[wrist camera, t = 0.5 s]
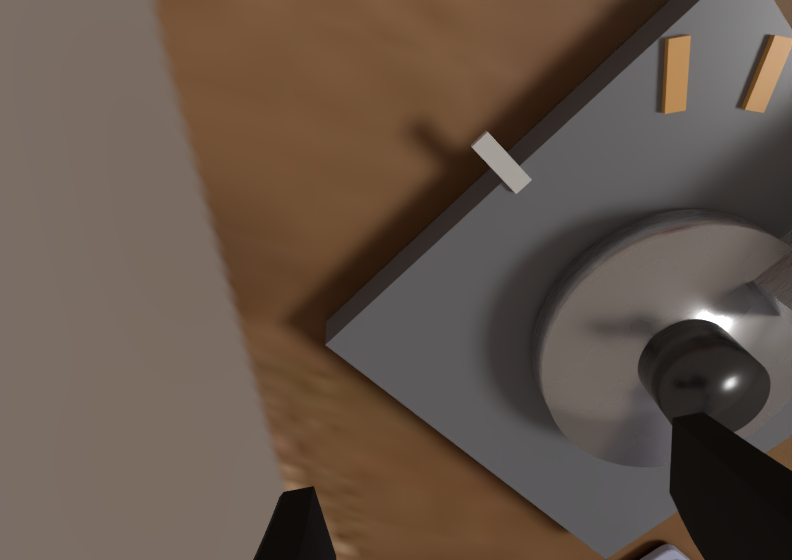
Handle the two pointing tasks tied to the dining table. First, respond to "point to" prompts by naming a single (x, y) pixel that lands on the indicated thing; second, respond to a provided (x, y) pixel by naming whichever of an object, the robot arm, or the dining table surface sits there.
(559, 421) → the dial
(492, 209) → the dial plate
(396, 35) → the dining table surface
